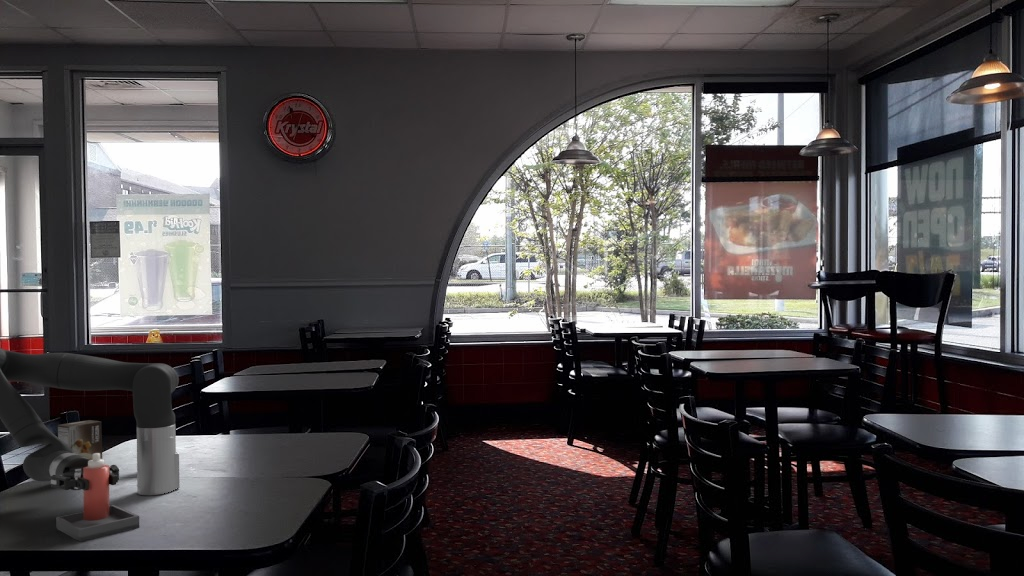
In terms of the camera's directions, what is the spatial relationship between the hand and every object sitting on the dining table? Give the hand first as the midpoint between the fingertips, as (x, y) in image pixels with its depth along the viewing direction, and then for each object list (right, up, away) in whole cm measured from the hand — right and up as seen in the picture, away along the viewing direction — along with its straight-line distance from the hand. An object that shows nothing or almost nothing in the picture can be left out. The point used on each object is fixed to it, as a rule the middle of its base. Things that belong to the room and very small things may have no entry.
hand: (101, 482), depth 162 cm
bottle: (-2, -8, +2) cm, 8 cm away
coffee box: (-31, -11, +46) cm, 56 cm away
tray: (-2, -10, +2) cm, 11 cm away
